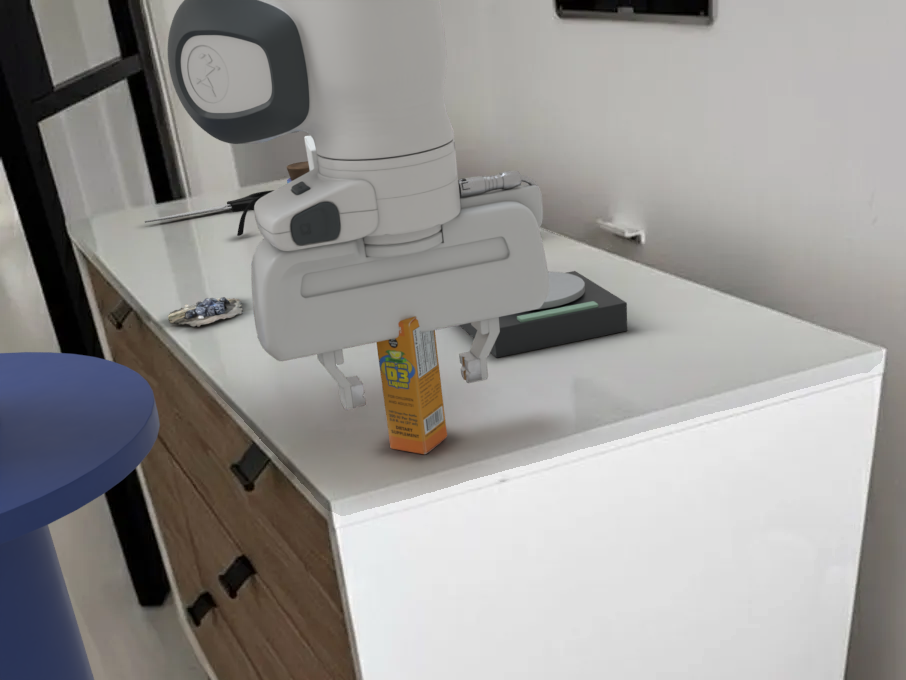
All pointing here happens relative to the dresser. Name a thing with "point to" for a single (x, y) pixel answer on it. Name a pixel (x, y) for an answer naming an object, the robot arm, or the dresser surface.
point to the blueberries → (206, 311)
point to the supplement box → (412, 389)
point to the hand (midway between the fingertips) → (415, 392)
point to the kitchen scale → (561, 317)
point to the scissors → (234, 205)
